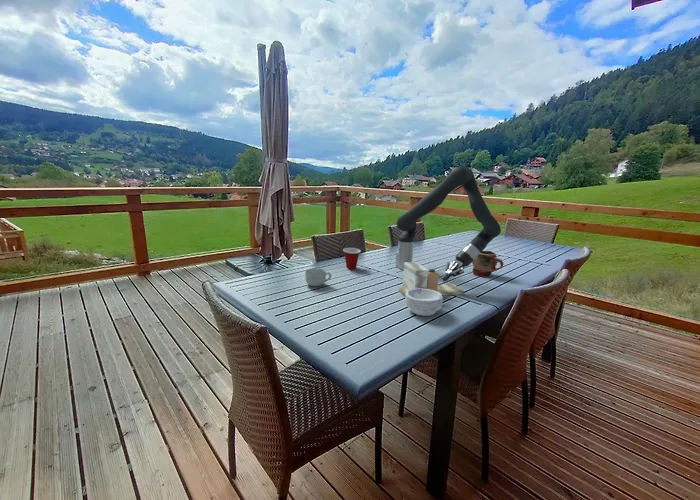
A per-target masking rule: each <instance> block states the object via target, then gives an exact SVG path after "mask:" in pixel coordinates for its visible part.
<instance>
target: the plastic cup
mask: <svg viewBox="0 0 700 500" xmlns="http://www.w3.org/2000/svg"><path fill="white" fill-rule="evenodd" d="M342 250H343V254H344V260H345V266H346V269H347V268H348V269H347V270H350V269H353V270H356V269H357V265H358V262H359V261H358V260H359V256H360V253H361V249H359V248H355V247H345V248H343V249H342ZM355 268H356V269H355Z"/></svg>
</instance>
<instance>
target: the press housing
mask: <svg viewBox="0 0 700 500" xmlns="http://www.w3.org/2000/svg"><path fill="white" fill-rule="evenodd" d="M428 270H429V269H427V268H426V267H424V266H423V265H421V264H419V263H418V262H416V261H412V262H404V270H403V276H402V287H398V292H399V293H400V294H401V295H402V296H403V297H404V298H405V296H406V292H407V291H408V290H411V289H419V288H422V289H427V277H428ZM437 292H439V293H441V294H442V295H443V296H455V294H456V295H464V294H465V290H463V289H462V288H460V287H458V286H457V285H455V284H454V283H451V284H448V283H447V284H438V289H437Z"/></svg>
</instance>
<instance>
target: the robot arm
mask: <svg viewBox="0 0 700 500" xmlns="http://www.w3.org/2000/svg"><path fill="white" fill-rule="evenodd" d="M459 187H462V188H463V189H464V191H465V193H466V194H467V197H468V202H469V206H470V209H471V211H472V213H473V216H474V217H475V219H476V220H477V222H478V223H481V226H482V227H483V228H482V229H481V230H480V232H479V233H478V234H477V235H476V236H475V237H474V238H472V240H471V241H470V242H469V243H468V244H466V245H465V246H464V247H463V248H462V249H461V250H460V251H459V252H458V253H457V254H456V255H455V259H454V260H452V262H450V261H447V263H446V266H445V269H444V271H445V273H444V274H443V275H442V276H441V277H440V278H441V281H444V282H447V281H448V280H449V279H450V278H452V277H453V278H455V277H458V276H460V275H462V274H464V273H465V270H464V269H465V267H469V266H470V265H471V264H473V263H472V262H473V261H474V260H475V259H476V258H477V256H478V255H479V254H480V253H481V252H482V251H485V249H486V248H487V246H488V244H489V243H490V242H492V240H493V239H495V238H497V237H499V235H501V233H502V228H501V225H500V224H499V222H498V220H497V219H496V218H495V217H494V216H493V215H492V213H491V211H490V209H489V207H488V206H487V204H486V201H485V200H484V198H483V196H482V193H481V191H480V189H479V187H478V183H477V180H476V178H475V174H474V172H473V170H472V169H471V168H470V167H466V166H458V167H456V168H453V170H451V172H450V173H449V174H448V175H447V176H446V177H445V178H444V179H443V180H442V181H441V182H440V183H439V184H438V185H437V186H435V187H434V188H432V190H430V191H429V192H428V193H427V194H426V195H424V196H423V197H422V198H421V199H420V200H419V201H418V202H417V203H416V204H414V206H413V207H412V208H410V209H409V210H407V211H406V212H405V213H403V214H402V215H400V216H399V217H398V218H397V220H396V228H397V229H398V230H399V231H402V232H401V233H400V235H399V236H398V241H397V242H398V243H397V252H396V254H395V255H396V256H395V268H397V269H398V270H403V271H404V262H413V255H414V241H415V238H416V235H417V234H416V231H417V220H419V219H421V218H422V217H424V216H426V215H428V214H430V213H432V212H433V211H434V210H436V209H437V208H438V207H440V205H441V204H443V202H444V201H445V199H446V198H447V197H448V195H450V193H452V192H453V191H455V189H457V188H459Z"/></svg>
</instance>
